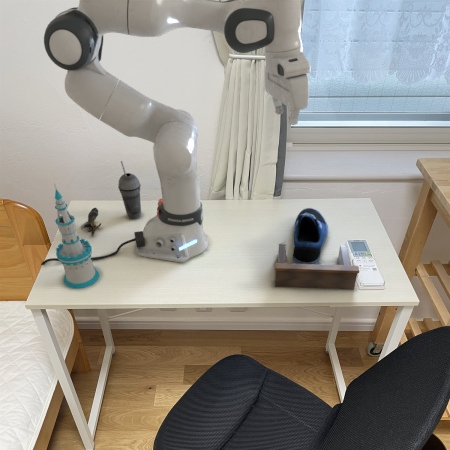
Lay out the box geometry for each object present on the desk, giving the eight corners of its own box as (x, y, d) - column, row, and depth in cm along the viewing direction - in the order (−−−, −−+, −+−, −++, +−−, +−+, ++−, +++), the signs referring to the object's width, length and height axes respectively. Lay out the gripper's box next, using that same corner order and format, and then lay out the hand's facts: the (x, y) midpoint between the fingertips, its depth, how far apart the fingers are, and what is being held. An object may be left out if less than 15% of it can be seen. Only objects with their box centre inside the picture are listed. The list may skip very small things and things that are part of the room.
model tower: (64, 269, 136) (35, 176, 116) (99, 264, 138) (75, 172, 118) (63, 290, 129) (31, 195, 109) (99, 285, 130) (74, 190, 110)
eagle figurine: (109, 230, 150) (103, 212, 155) (94, 218, 144) (89, 200, 149) (92, 243, 151) (87, 225, 156) (76, 232, 146) (71, 214, 151)
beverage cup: (143, 221, 155) (134, 166, 142) (122, 222, 155) (111, 166, 142) (146, 210, 161) (138, 156, 147) (125, 210, 161) (116, 156, 148)
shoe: (328, 219, 155) (333, 186, 146) (324, 274, 133) (330, 239, 125) (296, 216, 156) (299, 183, 148) (287, 270, 134) (290, 235, 126)
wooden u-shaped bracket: (273, 287, 129) (274, 268, 124) (273, 257, 139) (274, 238, 135) (355, 290, 127) (359, 271, 123) (348, 259, 138) (352, 240, 133)
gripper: (256, 55, 118) (261, 110, 127) (287, 72, 103) (290, 133, 112) (279, 50, 119) (282, 105, 128) (313, 66, 104) (314, 127, 113)
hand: (286, 118), depth 120 cm, fingers open, 8 cm apart
